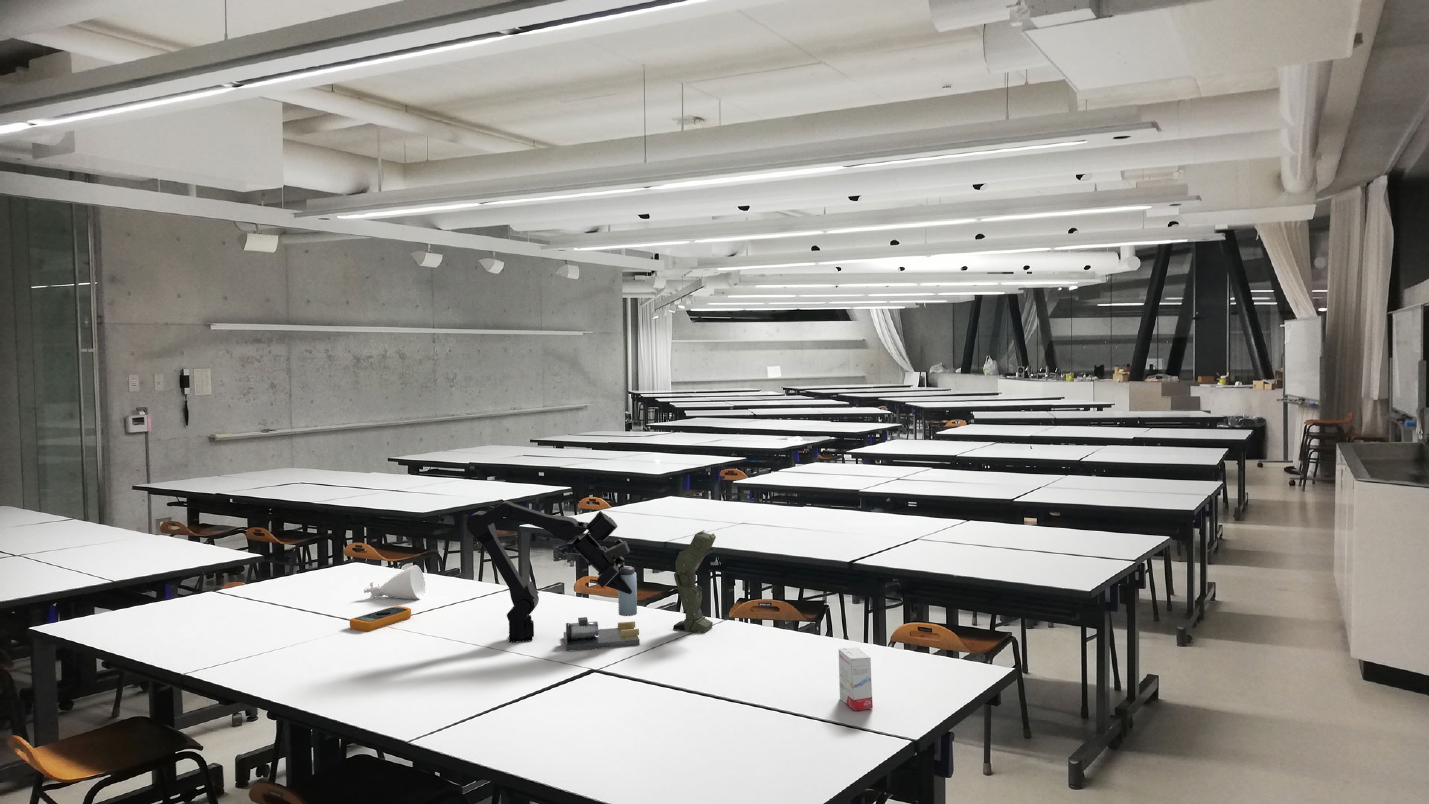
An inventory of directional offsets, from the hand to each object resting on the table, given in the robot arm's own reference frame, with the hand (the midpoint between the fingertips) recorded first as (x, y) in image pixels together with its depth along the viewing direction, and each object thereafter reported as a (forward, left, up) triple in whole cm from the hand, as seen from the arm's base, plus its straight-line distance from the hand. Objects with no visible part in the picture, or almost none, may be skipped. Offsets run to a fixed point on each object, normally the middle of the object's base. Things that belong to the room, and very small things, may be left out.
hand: (632, 590), depth 264 cm
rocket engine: (-71, +68, -14) cm, 99 cm away
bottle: (-1, 0, -7) cm, 7 cm away
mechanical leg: (+19, +3, -14) cm, 23 cm away
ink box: (+42, -65, -14) cm, 78 cm away
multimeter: (-72, +36, -14) cm, 82 cm away
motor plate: (-9, -1, -13) cm, 16 cm away
